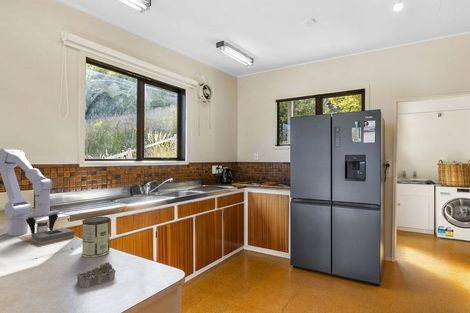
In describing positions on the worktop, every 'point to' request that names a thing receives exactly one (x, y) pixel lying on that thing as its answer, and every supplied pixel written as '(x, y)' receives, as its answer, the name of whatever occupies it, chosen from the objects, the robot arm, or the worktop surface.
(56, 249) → the worktop surface
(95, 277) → the egg carton
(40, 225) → the cylinder
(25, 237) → the board
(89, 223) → the coffee can
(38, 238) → the grey square frame plate
